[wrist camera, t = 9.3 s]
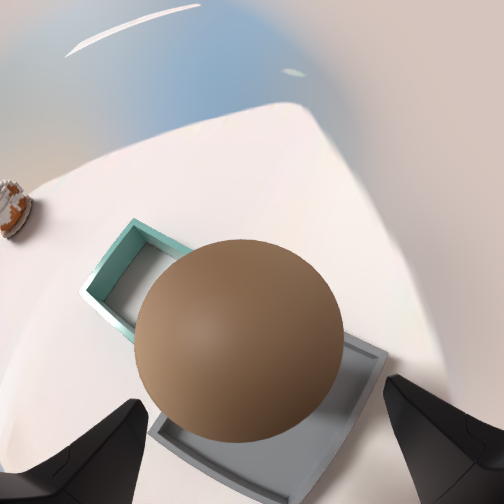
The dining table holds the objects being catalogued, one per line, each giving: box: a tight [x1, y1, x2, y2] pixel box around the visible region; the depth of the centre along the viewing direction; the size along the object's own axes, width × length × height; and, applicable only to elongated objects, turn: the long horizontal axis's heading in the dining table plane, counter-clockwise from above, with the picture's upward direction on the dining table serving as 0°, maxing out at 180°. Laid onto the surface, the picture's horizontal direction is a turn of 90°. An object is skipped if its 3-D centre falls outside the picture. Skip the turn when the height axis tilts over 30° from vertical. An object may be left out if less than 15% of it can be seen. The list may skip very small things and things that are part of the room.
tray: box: [147, 332, 388, 504], centre depth 17 cm, size 14×12×2 cm
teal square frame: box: [79, 218, 193, 344], centre depth 22 cm, size 9×9×3 cm
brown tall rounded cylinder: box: [134, 239, 344, 443], centre depth 12 cm, size 4×4×15 cm
